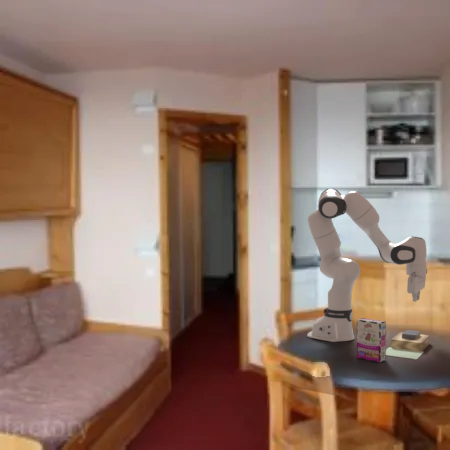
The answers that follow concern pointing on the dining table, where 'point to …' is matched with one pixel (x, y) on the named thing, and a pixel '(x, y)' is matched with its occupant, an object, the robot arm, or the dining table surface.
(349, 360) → the dining table surface
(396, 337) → the square wooden plank
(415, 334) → the grey flat block
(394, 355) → the mat
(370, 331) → the candy bar box
